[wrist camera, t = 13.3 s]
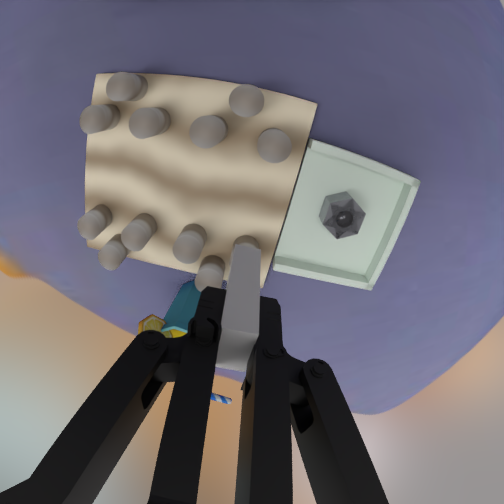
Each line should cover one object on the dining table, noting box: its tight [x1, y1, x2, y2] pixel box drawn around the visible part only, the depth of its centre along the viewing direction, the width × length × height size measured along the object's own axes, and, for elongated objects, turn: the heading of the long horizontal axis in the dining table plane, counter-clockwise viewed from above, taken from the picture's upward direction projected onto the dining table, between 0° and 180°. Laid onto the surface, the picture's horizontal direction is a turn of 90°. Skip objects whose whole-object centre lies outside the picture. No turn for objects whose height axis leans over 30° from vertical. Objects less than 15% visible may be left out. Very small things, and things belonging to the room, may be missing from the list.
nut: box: [319, 191, 366, 239], centre depth 30 cm, size 4×5×3 cm
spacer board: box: [77, 72, 317, 292], centre depth 28 cm, size 24×26×5 cm
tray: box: [273, 138, 421, 290], centre depth 31 cm, size 16×14×2 cm
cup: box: [138, 280, 232, 404], centre depth 33 cm, size 14×8×15 cm, turn 47°
